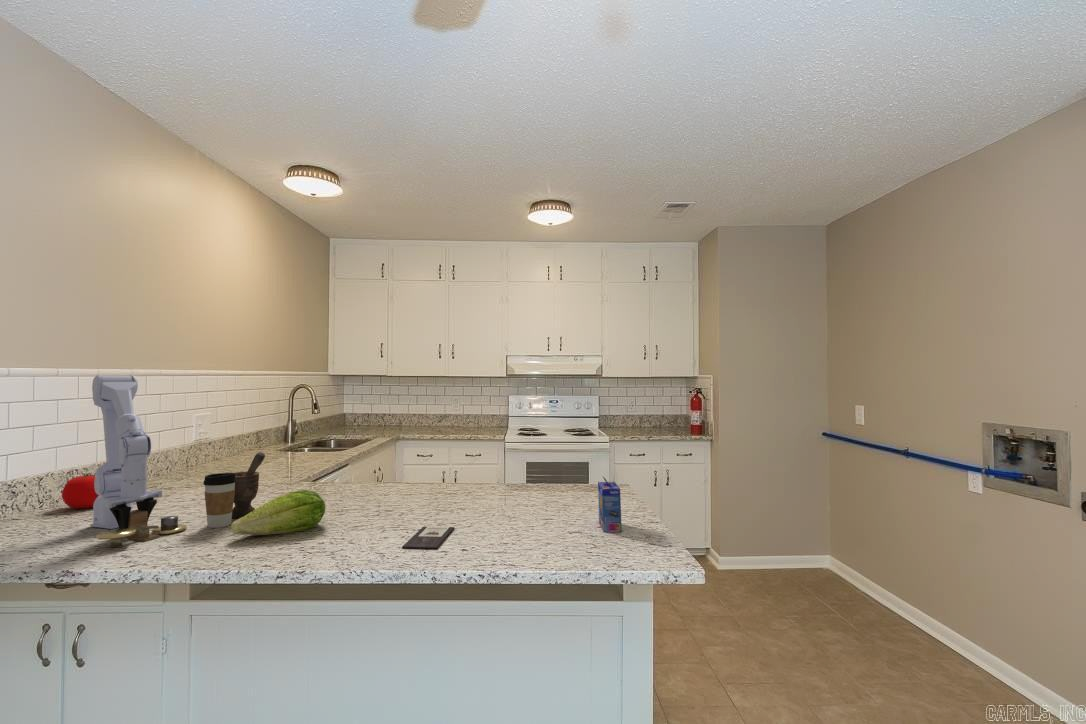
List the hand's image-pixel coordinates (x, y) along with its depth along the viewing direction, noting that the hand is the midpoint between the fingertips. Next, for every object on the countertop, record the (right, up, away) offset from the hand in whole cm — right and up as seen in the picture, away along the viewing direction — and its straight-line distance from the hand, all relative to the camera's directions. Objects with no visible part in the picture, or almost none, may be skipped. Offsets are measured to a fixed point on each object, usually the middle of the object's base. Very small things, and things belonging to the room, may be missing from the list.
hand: (133, 528), depth 148 cm
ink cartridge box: (+132, -2, +6) cm, 133 cm away
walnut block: (0, -1, 0) cm, 1 cm away
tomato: (-39, -2, +30) cm, 49 cm away
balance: (+6, -1, -4) cm, 7 cm away
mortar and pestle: (+21, -2, +19) cm, 29 cm away
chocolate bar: (+83, -2, -4) cm, 83 cm away
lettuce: (+39, -2, +2) cm, 40 cm away
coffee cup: (+19, -2, +9) cm, 21 cm away
